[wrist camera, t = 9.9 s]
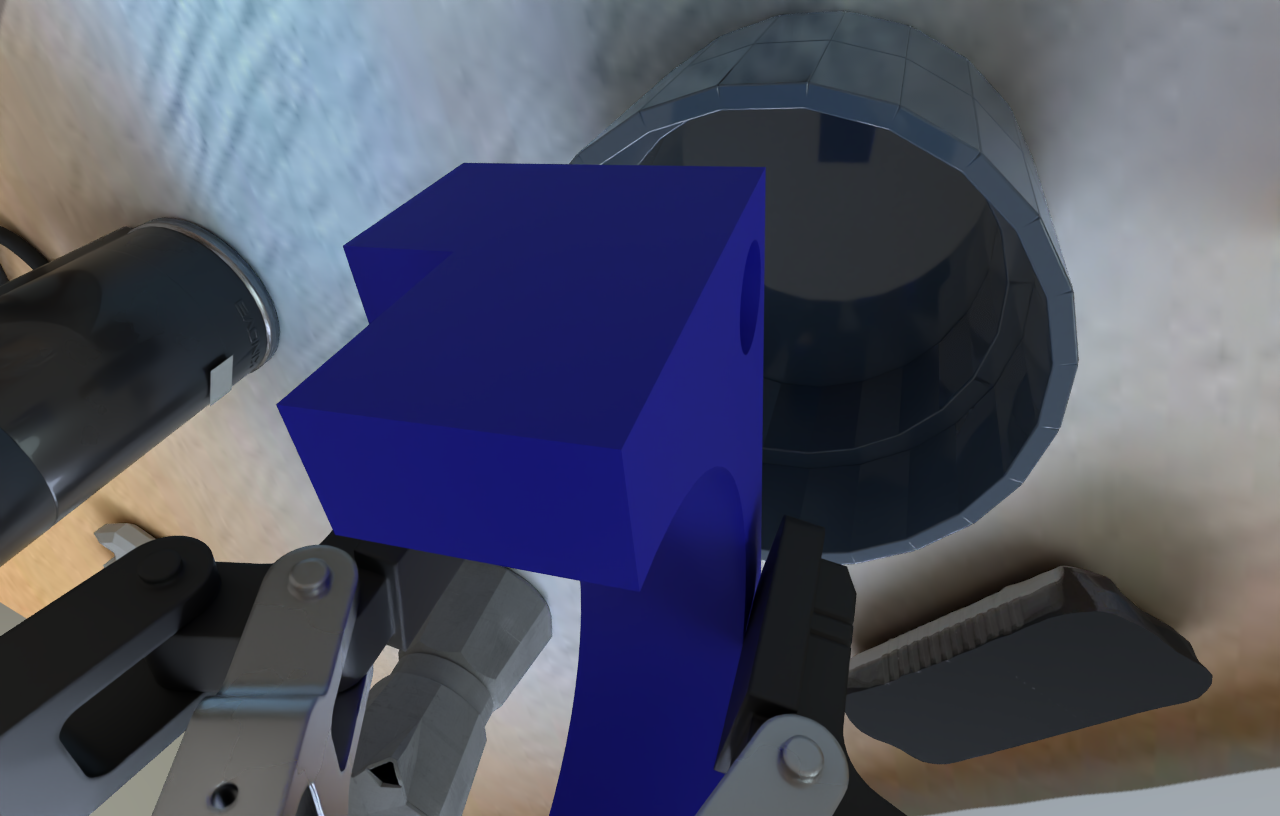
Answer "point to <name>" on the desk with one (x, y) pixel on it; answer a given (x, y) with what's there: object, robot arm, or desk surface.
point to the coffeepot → (446, 695)
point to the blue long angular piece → (571, 432)
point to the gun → (121, 538)
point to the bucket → (879, 271)
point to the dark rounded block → (1020, 670)
